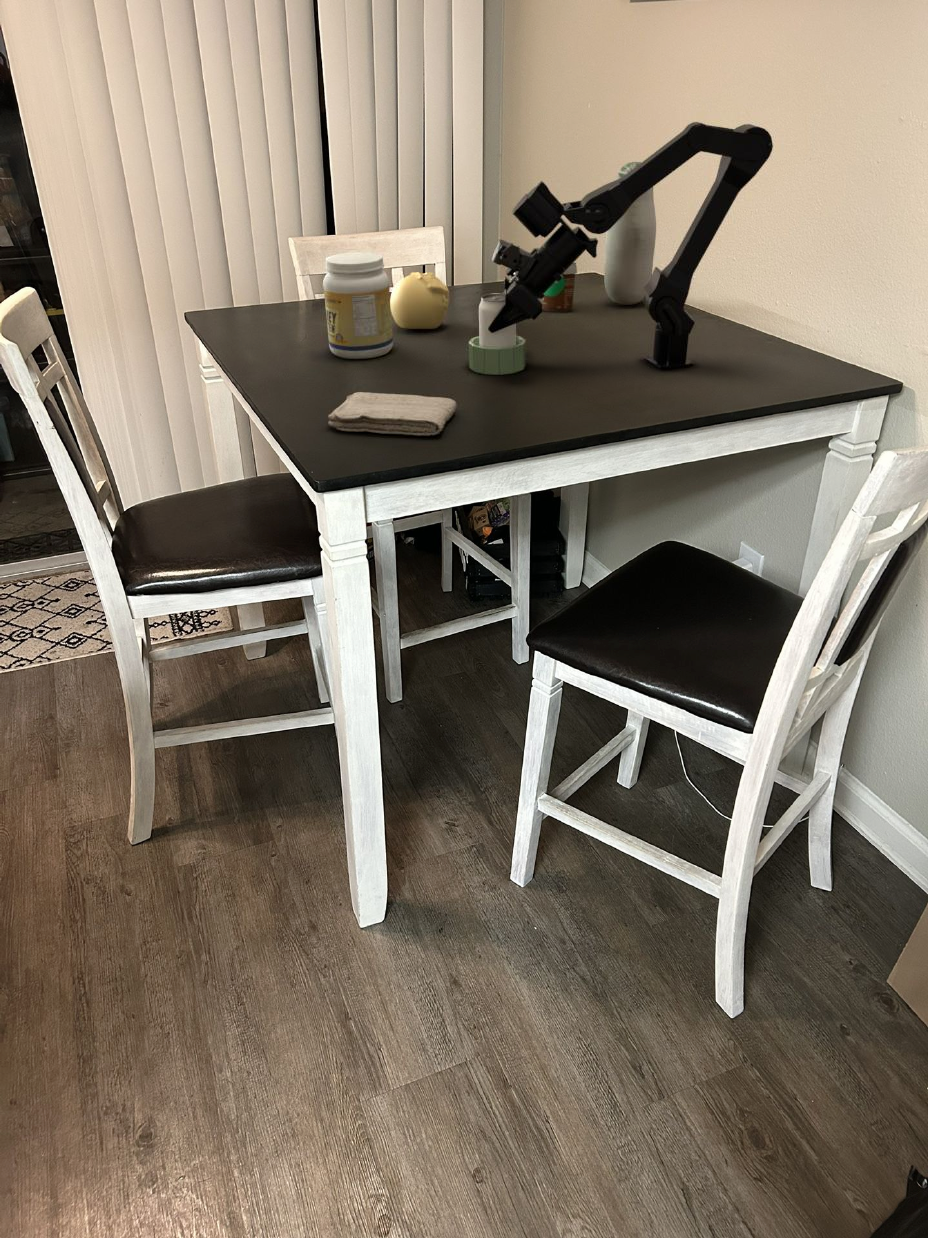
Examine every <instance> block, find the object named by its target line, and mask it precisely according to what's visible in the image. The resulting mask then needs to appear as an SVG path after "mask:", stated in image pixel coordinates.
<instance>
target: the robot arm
mask: <svg viewBox="0 0 928 1238" xmlns="http://www.w3.org/2000/svg"><path fill="white" fill-rule="evenodd" d="M773 147H774V144H773V139H772V136H771V134H770V132H769V131H768V130H767V129H766V128H763V127H760V126H757V125H754V124H752V123H746V124H741V125H739V126H737V127H735V128H730V127H723V126H716V125H709V124H705V123H703V122H700V121H693V122H691V123H689V124H687V125H686V126H685V127H684V129H683V130H682V131H681V132H680V133H678V134H676V136H674V137H673V138H672V139H670V140H669V141H668V142H667V143H665V144H663V146H661V147H660V148H658V149H657V150H656V151H655V152H654V153H652V154H651V155H649V156H648V157H647V158H646V159H644V160H643V161H641V162H642V163H640V164H639V165H638V166H636V167H635V168H634V169H633V170H631V171H630V172H629V173H627V174H626V175H625V176H623V177H621V178H619V179H617V178H616V179H615V180H613V181H610V182H608V183H606V184H603V185H601V186H600V187H598V188H595V189H594V190H592V191H590V192H588V193H586V194H585V196H583V198H581V200H576V201H575V200H574V201H570V202H569V201H567V202H563V203H562V202H561V201H560V200H559V199H558V198H557V197H556V196H555V195H554V194H553V193H552V191H551V190H550V188H549V187H548V185H547V184H546V183H545V182H544V181H543V180H540V182H538V183H537V185H535V186H534V187H533V188H532V189H531V190H530V191H529V192H528V193H525V194H524V195H523V196H522V198H521V199H520V200H518V202H517V204H516V205H515V206H514V207H513V209H512V211H511V214H512V215H513V216H514V218H516V219H517V220H518V221H519V222H520V223H521V224H522V226H523V227H524V228H526V230H527V231H528V232H529V234H530V235H532V236H533V237H534V238H536V239H537V238H538V237H539V236H540V237H542V238H547V237H548V236H549V238H547V239H546V241H545V242H544V243H543V244H542V245H541V246H540V247H539V248H538V247H534V248H533V249H532V250H531V251H530V252H529V251H527V250H525V249H522V248H520V246H519V245H515V244H514V243H513V242H508V241H506V240H504V239H498V242H497V244H496V247H495V249H494V251H493V254H492V257H491V258H492V259H491V261H492V262H493V263H494V264H495V265H498V266H503V267H506V268H507V269H506V270H505V274H506V276H504V278H503V279H504V280H503V281H504V282H503V284H504V285H503V286H504V287H503V289H504V290H503V292H502V293H504V294H505V303H504V305H503V306H502V308H501V309H500V311H499V312H498V314H497V315H496V317H495V318H494V320H493V321H492V323H491V324H490V326H489V327H488V330H489V331H490V332H491V333H494V332H496V331H499V330H501V329H503V328H506V327H508V326H511V325H513V324H516V325H517V324H518V323H521V322H523V321H526V320H530V319H532V320H533V321H535V320H536V319H537V318H538V317H539V316H540V315H541V314H542V313H543V310H542V298H543V297H544V296H545V294H544V293H545V292H546V291H547V290H548V289H549V288H550V287H551V286H552V285H553V283H554V282H555V281H556V280H557V281H558V282H559V281H560V280H561V279H562V278H563V277H562V274H563V273H564V272H565V271H566V270H567V269H568V268H569V267H570V266H571V265H572V264H573V263H576V261H577V260H578V259H579V257H581V255H582V254H583V253H585V252H587V253H588V254H589V255H590V256H591V258H593V259H595V258H597V256H598V254H597V247H598V243H599V240H598V238H597V237H594V238H593V237H590V236H588V235H587V233H585V231H584V230H583V229H582V228H581V227H580V226H583V228H584V229H585V230H586V231H587V232H589V233H591V234H595V235H602V234H604V233H605V234H606V232H607V231H608V230H609V229H611V227H612V226H613V225H614V224H615V223H616V222H617V221H618V220H619V219H620V218H621V217H622V216H623V215H624V214H625V213H626V211H627V210H628V209H629V207H630V206H631V205H632V204H633V203H634V202H635V201H636V200H637V198H639V197H640V196H641V195H643V194H644V193H645V192H647V191H648V190H649V189H651V188H652V187H653V188H654V187H655V186H656V185H658V184H659V183H660V182H661V181H662V180H664V179H665V178H667V177H668V176H669V175H670V174H673V172H675V171H676V170H677V169H679V168H680V167H682V166H683V165H684V164H685V163H686V162H688V161H689V160H690V159H692V158H694V157H695V156H696V155H697V154H699V153H707V154H711V155H712V154H713V155H718V156H721V157H720V160H719V165H718V169H717V173H716V176H715V177H716V178H715V180H714V181H713V183H712V185H711V188H710V189H709V191H708V193H707V194H706V196H705V199H704V200H703V202H702V204H701V205H700V208H699V209H698V211H697V213H696V215H695V217H694V219H693V220H692V222H691V225H690V226H689V228H688V230H687V232H686V233H685V236H684V237H683V239H682V240H681V242H680V245H679V246H678V248H677V250H676V252H675V254H674V256H673V258H672V259H671V261H670V262H669V263H668V264H666V266H665V267H664V268H663V269H660V268H659V267H658V266H655V267H654V269H653V270H652V277H651V279H650V281H649V282H648V284H647V285H646V286H644V290H645V291H646V292H645V295H644V298H643V304H644V307H645V309H646V311H647V313H648V314H649V316H650V318H651V319H652V320H653V321H654V322H655V323H656V324H655V329H654V338H653V349H652V350H653V353H652V356H645V358H644V360H645V361H646V362H648V364H651V365H653V366H655V367H656V368H658V369H659V370H668V369H678V368H684V367H685V368H686V367H691V366H694V362H693V361H692V360H690V359H688V358H687V356H688V347H689V338H690V337H689V336H690V334H691V332H692V331H693V328H694V325H695V320H694V319H693V318H692V317H691V315H690V314H689V312H688V311H687V310H686V309H685V308H684V307H685V304H686V301H687V299H688V296H689V293H690V289H691V284H692V279H693V276H694V273H695V272H696V270H697V268H698V266H699V264H700V263H701V262H702V259H703V258H704V256H705V254H706V252H707V250H708V248H709V247H710V245H711V243H712V241H713V240H714V238H715V236H716V234H717V232H718V231H719V229H720V227H721V225H722V223H723V222H724V220H725V218H726V216H727V215H728V213H729V211H730V209H731V207H732V205H733V204H734V202H735V200H736V198H737V196H738V195H739V193H740V192H741V191H742V190H743V188H744V187H746V185H747V184H749V182H750V181H751V180H753V178H755V177H756V175H757V174H758V172H759V171H760V170H761V169H762V168H763V166H764V165H765V164H766V162H767V161H768V160H769V158H770V156H771V155H772V152H773ZM562 216H564V217H565V218H566V220H568V222H569V223H571V224H572V225H573V224H574V225H580V226H576V227H574V228H573V227H572V226H570V225H569V224H568V223H567V221H565V219H564V218H563V217H562ZM559 224H561V225H560V226H559ZM558 226H559V227H558ZM556 228H557V229H556ZM555 229H556V230H555ZM554 230H555V231H554ZM553 231H554V232H553ZM552 232H553V233H552ZM550 234H551V235H550ZM509 276H510V277H509ZM508 277H509V278H508Z"/></svg>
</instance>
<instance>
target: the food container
mask: <svg viewBox="0 0 928 1238" xmlns="http://www.w3.org/2000/svg"><path fill="white" fill-rule="evenodd" d="M576 274H578V266H577V262H574V263H573V264H572V265H571V266H570V267H569V268H568V269H567V270H566V271H565V272H564V273H563V274H562V277H563V278H562V279H561V280H560V281H559V282H558V281H557V280H556V281H555V282H554V283H553V285H552V286H551V287H550V288H549V289H548V290H547V291H546V292H545V293H544V294H545V296H544V297H543V298H542V311H545V312H554V313H564V312H572V311H573V304H574V293H575V292H574V291H575V283H576V281H575V280H576Z"/></svg>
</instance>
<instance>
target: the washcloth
mask: <svg viewBox="0 0 928 1238" xmlns="http://www.w3.org/2000/svg"><path fill="white" fill-rule="evenodd" d="M457 406H458V405H457V402H456V401H455V400H454V399H452V398H448V397H440V396H439V397H438V396H424V395H419V394H418V395H416V394H415V395H414V394H402V393H401V394H396V393H384V392H383V393H380V392H379V393H378V392H368V391H367V392H362V391H358V392H354V393H353V394H349V395H347V396H346V400H345V401H344V402H343V403H342V404H340V405H339V406H338V407H336V408H335V409H334V410H333V411H332V412H331V413H330V414H328V415H327V418H328V420H329V421H328V426H330V427H331V428H335V429H336V430H337V431H338V430H339V431H343V432H369V433H376V434H388V435H404V436H405V435H406V436H422V437H423V436H436V435H438V434H440V433H441V432H442V431H443V429H444V428H445V425H446V423H447V422H448V421H450V419H451V418H452V416H453V415H454V413H455V412H456V410H457Z"/></svg>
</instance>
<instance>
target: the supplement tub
mask: <svg viewBox="0 0 928 1238" xmlns="http://www.w3.org/2000/svg"><path fill="white" fill-rule="evenodd" d="M384 267H385V263H384V257H383V255H381V254H378V253H374V252H365V251H364V252H361V251H360V252H343V253H337V254H333V255H330V256H327V257H326V258H325V270H326V271H327V273H326V274H325V276H324V277H323V280H322V287H323V295H324V305H325V314H326V315H325V316H326V327H327V335H328V336H327V337H328V346H329V350H330V352H331V353H332V354H334V356H336V357H340V358H342V359H348V360H367V359H373V358H374V359H375V358H378V357H382V356H385V355H386V354H388V353H389V352H391V350H392V348H393V345H394V337H393V323H392V312H391V306H390V299H391V290H390V289H391V287H390V278H389V276H388V274H387V272H385V270H383V268H384Z"/></svg>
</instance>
